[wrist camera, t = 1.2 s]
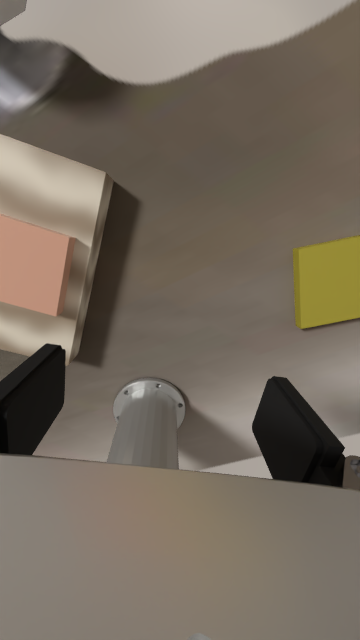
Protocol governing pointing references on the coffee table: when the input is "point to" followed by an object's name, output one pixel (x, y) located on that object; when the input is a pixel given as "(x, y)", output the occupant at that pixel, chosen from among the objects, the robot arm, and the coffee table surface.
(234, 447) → the coffee table surface
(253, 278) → the coffee table surface
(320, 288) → the flat olive board
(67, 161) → the platform
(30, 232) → the coaster
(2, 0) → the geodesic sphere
